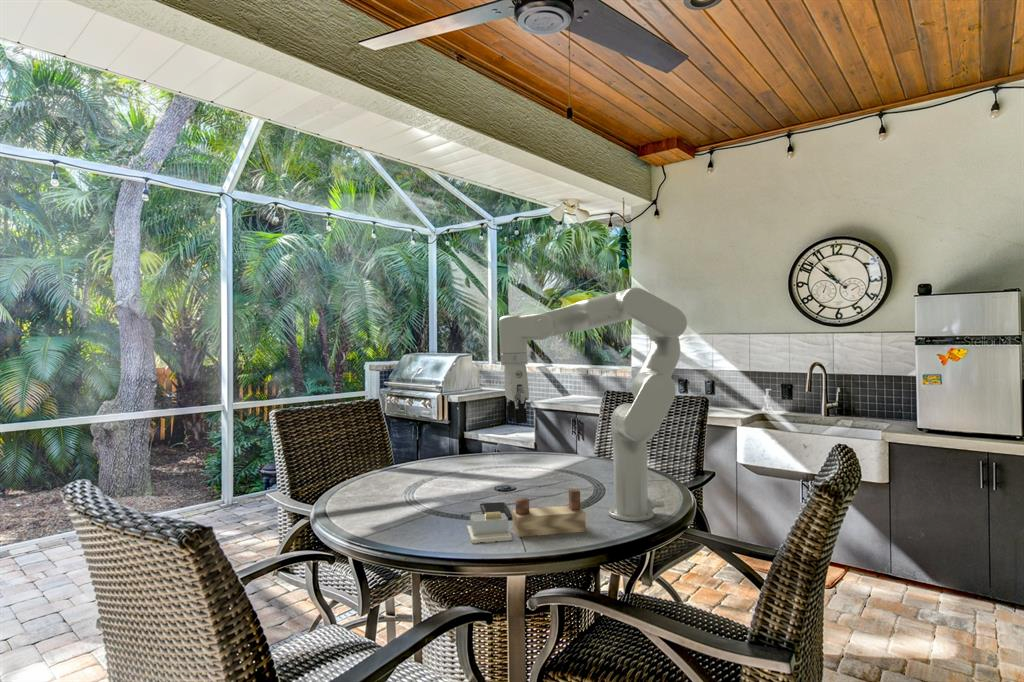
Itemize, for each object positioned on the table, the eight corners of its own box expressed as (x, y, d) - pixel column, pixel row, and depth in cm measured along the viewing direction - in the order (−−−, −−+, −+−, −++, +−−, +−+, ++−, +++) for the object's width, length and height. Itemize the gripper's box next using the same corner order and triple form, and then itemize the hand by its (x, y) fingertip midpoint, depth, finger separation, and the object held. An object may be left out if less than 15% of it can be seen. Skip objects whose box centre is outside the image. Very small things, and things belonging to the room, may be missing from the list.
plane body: (577, 523, 157) (576, 486, 157) (585, 531, 151) (585, 493, 151) (512, 528, 154) (512, 490, 154) (518, 537, 147) (517, 497, 147)
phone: (485, 518, 161) (479, 503, 176) (485, 522, 161) (479, 507, 176) (512, 516, 162) (505, 501, 177) (513, 520, 162) (505, 505, 177)
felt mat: (503, 526, 156) (503, 522, 156) (511, 540, 145) (511, 536, 145) (467, 529, 154) (466, 525, 154) (472, 543, 143) (472, 539, 143)
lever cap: (504, 526, 153) (504, 509, 153) (508, 532, 147) (508, 515, 147) (470, 528, 151) (470, 511, 151) (473, 535, 146) (472, 517, 146)
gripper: (535, 359, 153) (538, 424, 153) (519, 358, 170) (522, 416, 170) (507, 361, 152) (510, 426, 152) (494, 359, 169) (497, 418, 169)
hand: (517, 420), depth 161 cm, fingers open, 9 cm apart
